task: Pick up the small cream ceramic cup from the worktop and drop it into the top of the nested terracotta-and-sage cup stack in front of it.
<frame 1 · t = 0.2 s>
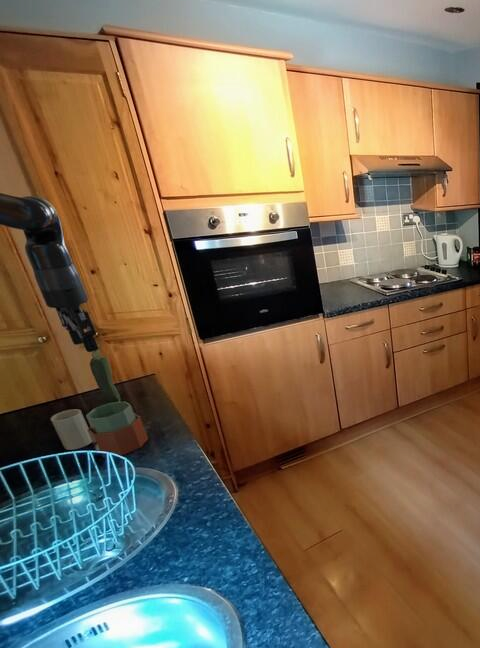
hand: (86, 347, 114), 27 cm above the worktop, tool pointing down, fingers open, 8 cm apart
cup: (79, 443, 121), on the worktop
vegetable: (115, 404, 140), on the worktop
cup stack: (123, 445, 120), on the worktop
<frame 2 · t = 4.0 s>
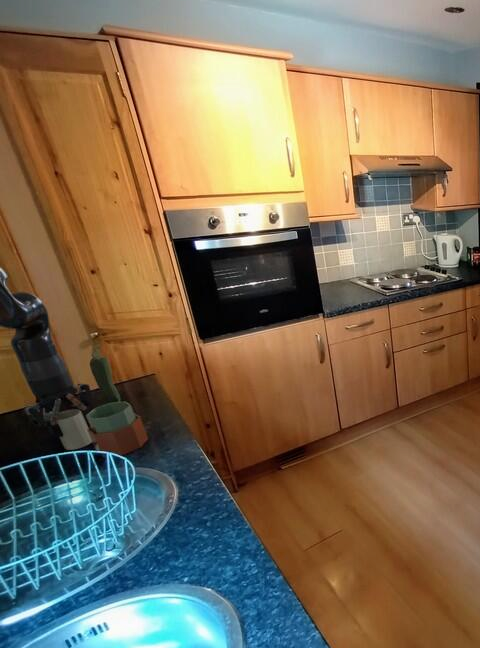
hand: (72, 429, 119), 5 cm above the worktop, tool pointing down, fingers closed on cup, 6 cm apart
cup: (79, 443, 121), on the worktop, touching gripper
everything else where it was.
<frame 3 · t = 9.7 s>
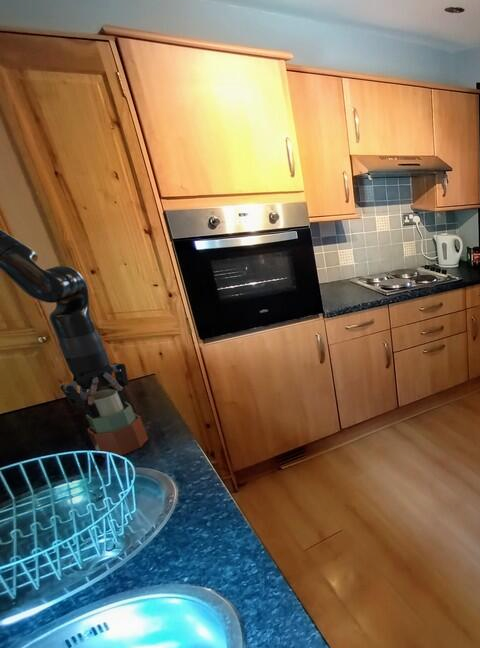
hand: (108, 409, 116), 11 cm above the worktop, tool pointing down, fingers closed on cup, 6 cm apart
cup: (114, 424, 118), point 7 cm above the worktop, touching gripper
everything else where it was.
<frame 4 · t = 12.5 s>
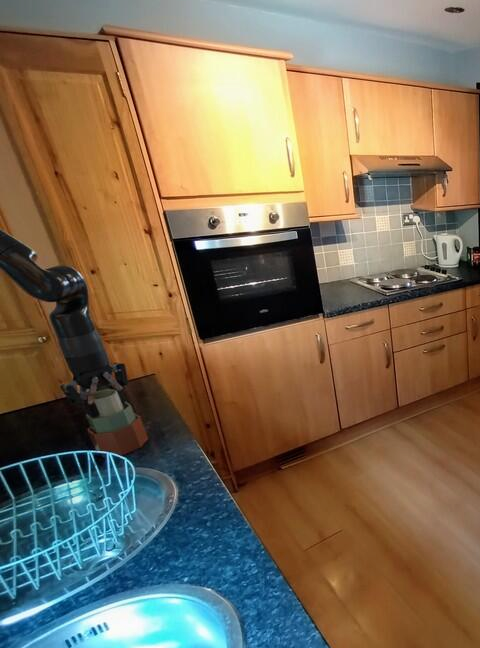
hand: (108, 409, 116), 11 cm above the worktop, tool pointing down, fingers closed on cup, 5 cm apart
cup: (114, 424, 118), point 7 cm above the worktop, touching gripper
everything else where it was.
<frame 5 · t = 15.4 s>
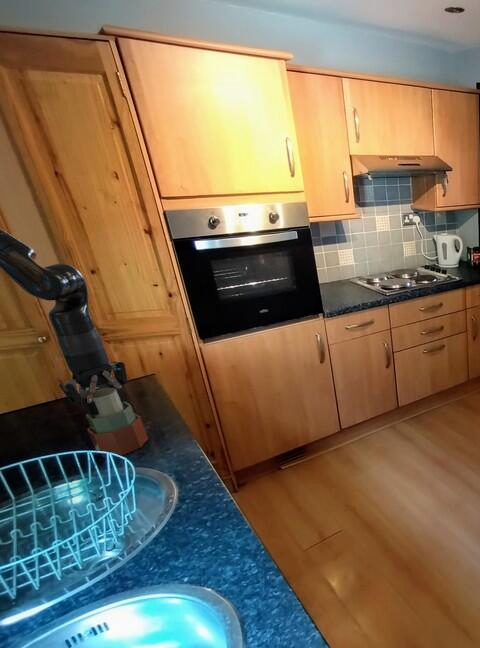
hand: (107, 408, 116), 12 cm above the worktop, tool pointing down, fingers closed on cup, 5 cm apart
cup: (113, 423, 118), point 7 cm above the worktop, touching gripper
everything else where it was.
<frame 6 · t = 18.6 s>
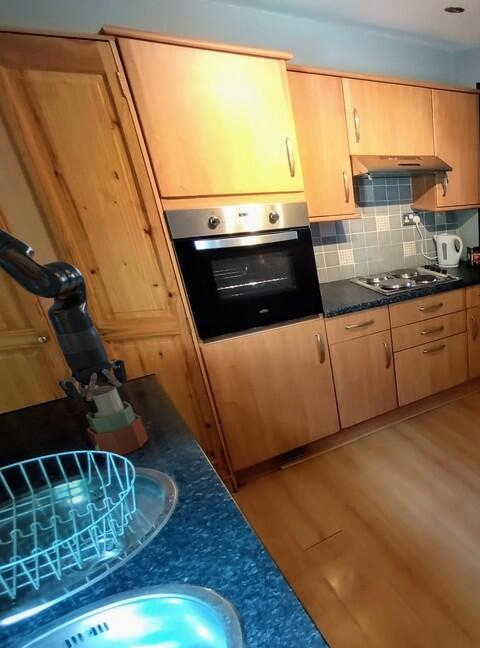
hand: (107, 406, 116), 12 cm above the worktop, tool pointing down, fingers closed on cup, 6 cm apart
cup: (113, 421, 117), point 8 cm above the worktop, touching gripper
everything else where it was.
when the fingers open (12 cm above the worktop, at t = 21.1 s): cup drops 5 cm, resting on cup stack.
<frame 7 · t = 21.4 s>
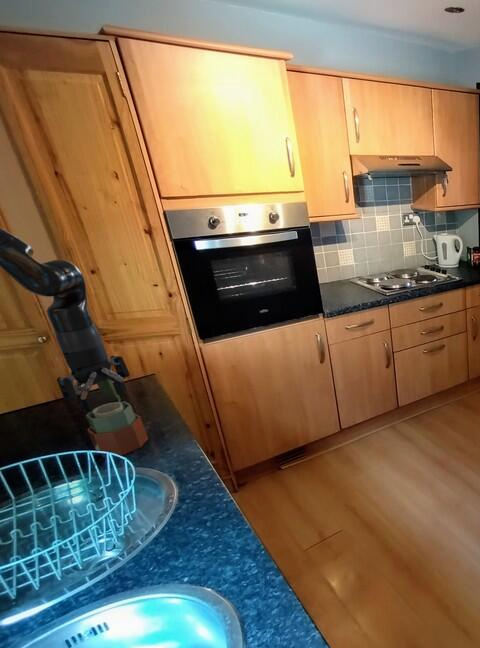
hand: (105, 403, 115), 13 cm above the worktop, tool pointing down, fingers open, 8 cm apart
cup: (119, 437, 119), point 3 cm above the worktop, touching cup stack
everything else where it was.
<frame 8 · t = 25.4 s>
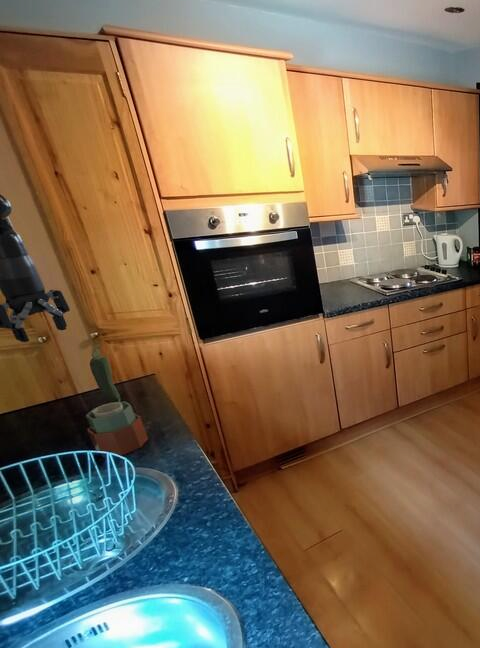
hand: (44, 335, 117), 28 cm above the worktop, tool pointing down, fingers open, 8 cm apart
nothing on the worktop moved.
at the end: cup 0.1 cm off-centre on the cup stack, point 2.6 cm above the cup stack's base; cup tilted 0°; the gripper is holding nothing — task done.
